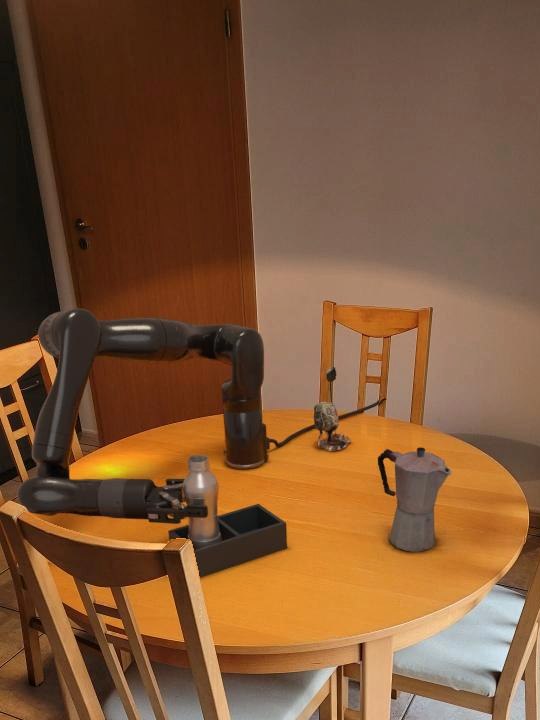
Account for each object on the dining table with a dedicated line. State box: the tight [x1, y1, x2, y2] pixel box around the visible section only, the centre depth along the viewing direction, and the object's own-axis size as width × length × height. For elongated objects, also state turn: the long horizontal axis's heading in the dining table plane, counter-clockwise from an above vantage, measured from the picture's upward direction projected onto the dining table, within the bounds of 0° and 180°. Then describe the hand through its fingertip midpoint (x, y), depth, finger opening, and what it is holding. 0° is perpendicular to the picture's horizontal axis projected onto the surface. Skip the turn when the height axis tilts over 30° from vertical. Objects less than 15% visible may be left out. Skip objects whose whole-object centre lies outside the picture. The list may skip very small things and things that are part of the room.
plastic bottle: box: [182, 454, 222, 550], centre depth 146 cm, size 6×7×20 cm
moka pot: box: [377, 446, 453, 553], centre depth 150 cm, size 10×15×20 cm, turn 58°
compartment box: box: [167, 503, 288, 578], centre depth 152 cm, size 10×20×6 cm, turn 123°
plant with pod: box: [313, 365, 352, 452], centre depth 196 cm, size 8×11×20 cm
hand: (212, 501), depth 145 cm, fingers open, 8 cm apart
